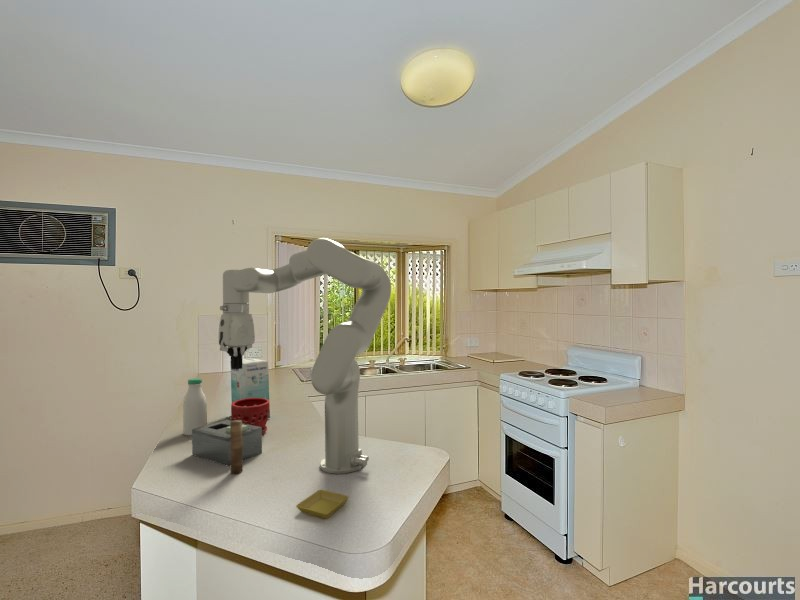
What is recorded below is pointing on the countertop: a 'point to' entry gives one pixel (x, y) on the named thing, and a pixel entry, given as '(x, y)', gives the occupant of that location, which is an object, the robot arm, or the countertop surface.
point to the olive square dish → (322, 503)
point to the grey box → (224, 442)
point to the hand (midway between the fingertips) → (236, 368)
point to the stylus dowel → (236, 446)
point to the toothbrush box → (250, 380)
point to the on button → (244, 428)
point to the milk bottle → (194, 407)
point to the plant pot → (251, 412)
